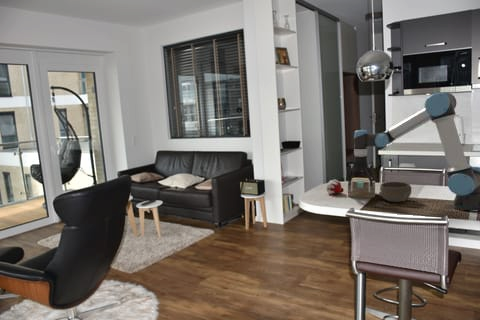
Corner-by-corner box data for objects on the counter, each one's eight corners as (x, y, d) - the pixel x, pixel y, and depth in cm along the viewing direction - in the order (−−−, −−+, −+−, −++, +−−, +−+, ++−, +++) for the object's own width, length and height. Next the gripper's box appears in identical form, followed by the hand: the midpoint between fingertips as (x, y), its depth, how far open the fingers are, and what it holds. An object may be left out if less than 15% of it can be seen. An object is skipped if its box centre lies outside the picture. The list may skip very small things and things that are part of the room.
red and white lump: (332, 189, 270) (348, 196, 257) (320, 192, 264) (336, 198, 251) (333, 177, 267) (350, 183, 255) (321, 179, 262) (337, 185, 249)
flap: (373, 189, 237) (373, 183, 236) (347, 188, 242) (347, 182, 242) (374, 181, 257) (374, 176, 256) (350, 181, 262) (350, 175, 262)
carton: (374, 197, 245) (374, 183, 244) (347, 196, 250) (347, 183, 249) (375, 192, 258) (375, 179, 257) (349, 191, 263) (349, 178, 262)
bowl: (375, 201, 236) (375, 185, 234) (386, 195, 249) (386, 180, 248) (405, 205, 225) (405, 188, 223) (414, 199, 238) (415, 182, 237)
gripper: (380, 154, 238) (379, 190, 242) (342, 154, 246) (342, 189, 249) (380, 156, 231) (379, 193, 235) (341, 156, 239) (341, 192, 242)
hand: (360, 191), depth 242 cm, fingers open, 10 cm apart
